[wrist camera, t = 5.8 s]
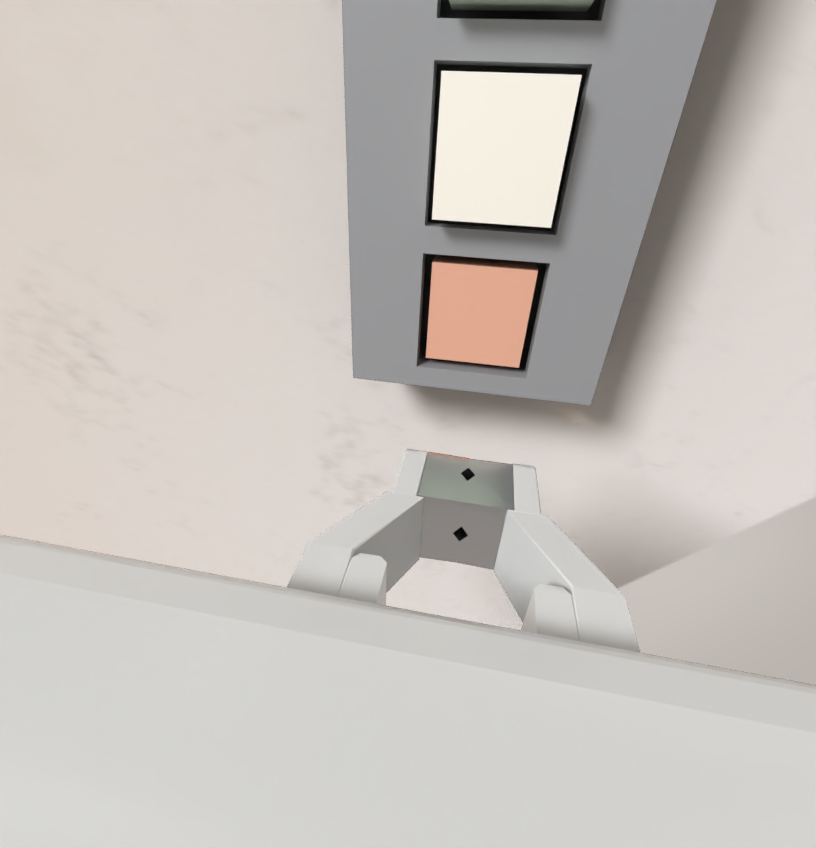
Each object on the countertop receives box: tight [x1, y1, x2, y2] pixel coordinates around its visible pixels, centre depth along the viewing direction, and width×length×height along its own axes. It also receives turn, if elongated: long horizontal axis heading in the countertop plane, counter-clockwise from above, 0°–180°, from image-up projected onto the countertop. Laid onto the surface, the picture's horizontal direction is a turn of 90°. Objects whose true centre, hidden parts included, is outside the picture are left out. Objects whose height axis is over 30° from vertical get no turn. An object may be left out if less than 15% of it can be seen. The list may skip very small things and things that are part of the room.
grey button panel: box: [342, 0, 717, 405], centre depth 17 cm, size 12×27×5 cm, turn 177°
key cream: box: [432, 71, 582, 228], centre depth 17 cm, size 5×5×2 cm
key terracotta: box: [426, 254, 538, 368], centre depth 21 cm, size 5×5×2 cm
